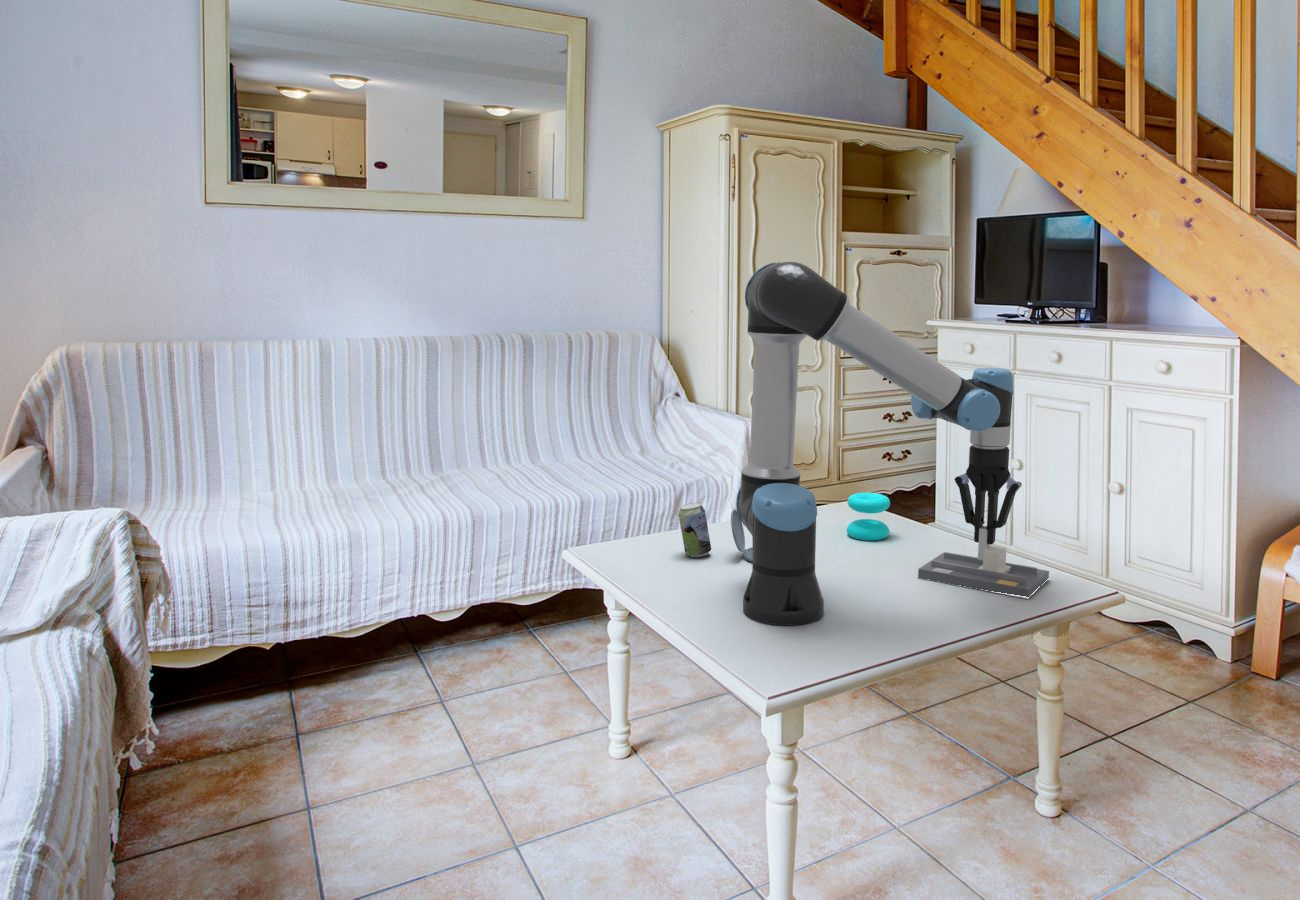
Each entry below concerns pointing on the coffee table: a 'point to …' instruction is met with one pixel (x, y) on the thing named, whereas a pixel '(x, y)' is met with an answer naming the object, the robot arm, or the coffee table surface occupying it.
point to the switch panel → (983, 575)
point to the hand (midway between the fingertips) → (983, 558)
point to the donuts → (868, 527)
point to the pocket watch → (740, 536)
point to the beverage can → (694, 530)
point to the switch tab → (995, 559)
